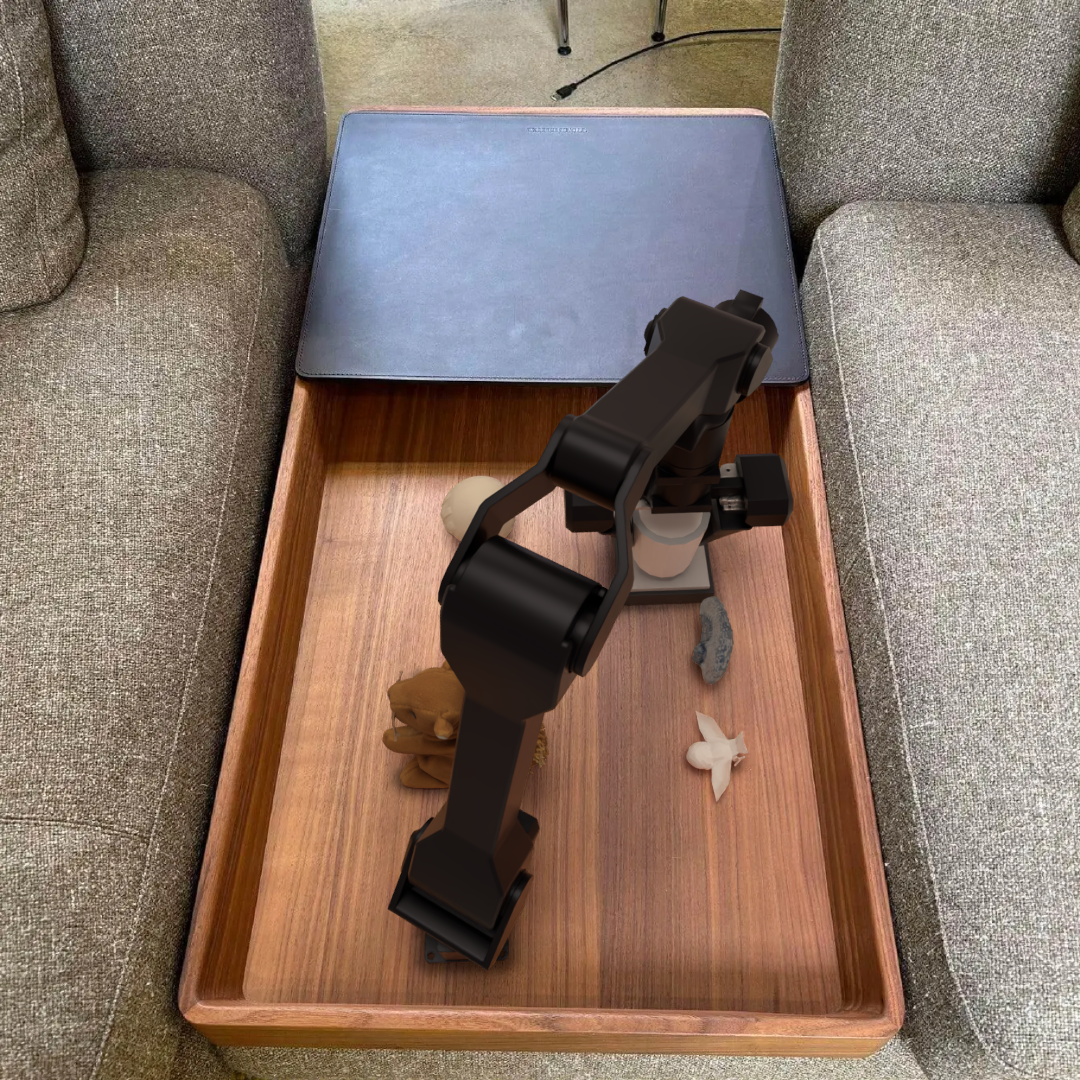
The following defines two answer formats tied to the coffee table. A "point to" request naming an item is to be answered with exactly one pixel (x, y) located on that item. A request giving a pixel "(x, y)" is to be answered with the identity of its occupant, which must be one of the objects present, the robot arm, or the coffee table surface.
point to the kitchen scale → (671, 582)
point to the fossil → (713, 640)
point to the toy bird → (715, 752)
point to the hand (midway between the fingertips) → (663, 542)
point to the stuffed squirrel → (432, 726)
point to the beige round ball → (469, 504)
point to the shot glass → (666, 540)
